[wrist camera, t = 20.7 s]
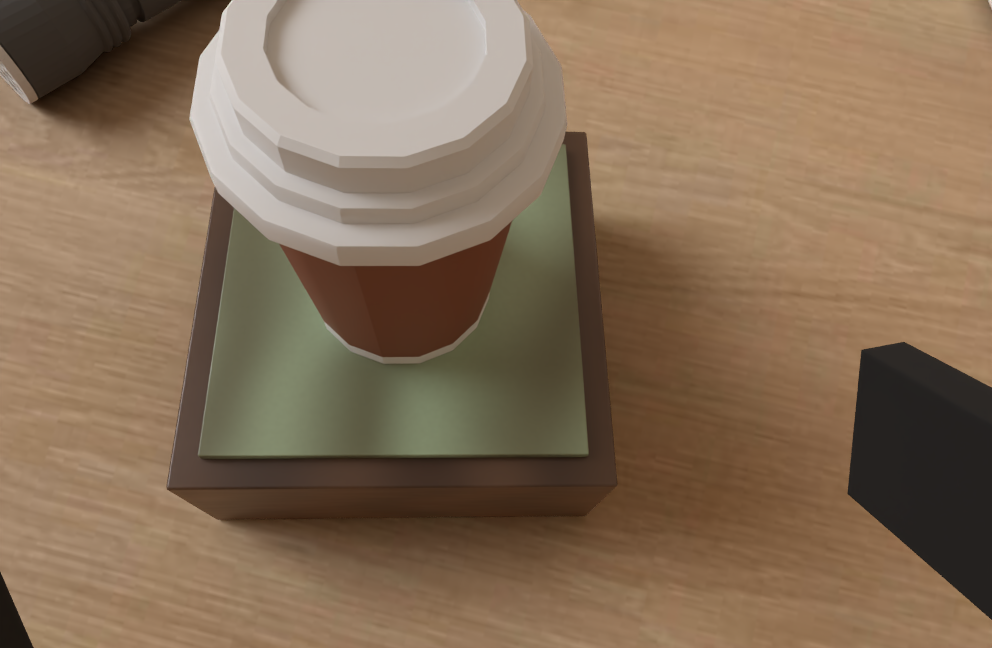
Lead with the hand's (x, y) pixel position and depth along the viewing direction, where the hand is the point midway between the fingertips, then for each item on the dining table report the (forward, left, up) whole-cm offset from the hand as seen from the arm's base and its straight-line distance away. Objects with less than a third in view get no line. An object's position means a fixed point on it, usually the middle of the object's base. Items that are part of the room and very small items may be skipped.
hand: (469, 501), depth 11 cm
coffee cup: (-2, +10, -13) cm, 17 cm away
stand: (-2, +11, -19) cm, 22 cm away
